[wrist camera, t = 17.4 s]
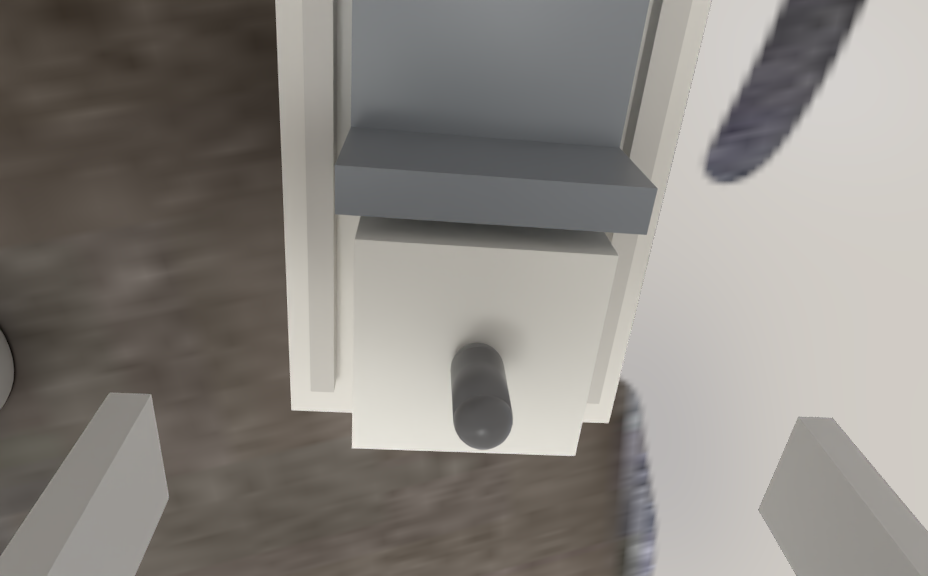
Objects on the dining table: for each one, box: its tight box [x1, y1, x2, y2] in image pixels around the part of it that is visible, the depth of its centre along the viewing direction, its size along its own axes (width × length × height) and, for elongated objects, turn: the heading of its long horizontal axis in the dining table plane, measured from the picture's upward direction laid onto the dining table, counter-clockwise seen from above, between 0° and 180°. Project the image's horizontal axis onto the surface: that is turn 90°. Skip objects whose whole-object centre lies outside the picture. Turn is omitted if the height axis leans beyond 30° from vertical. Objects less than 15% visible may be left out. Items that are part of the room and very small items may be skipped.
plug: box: [352, 216, 619, 456], centre depth 20 cm, size 6×6×12 cm
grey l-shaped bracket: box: [335, 0, 658, 235], centre depth 16 cm, size 7×8×5 cm
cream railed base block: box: [275, 0, 712, 423], centre depth 22 cm, size 19×12×5 cm, turn 175°
